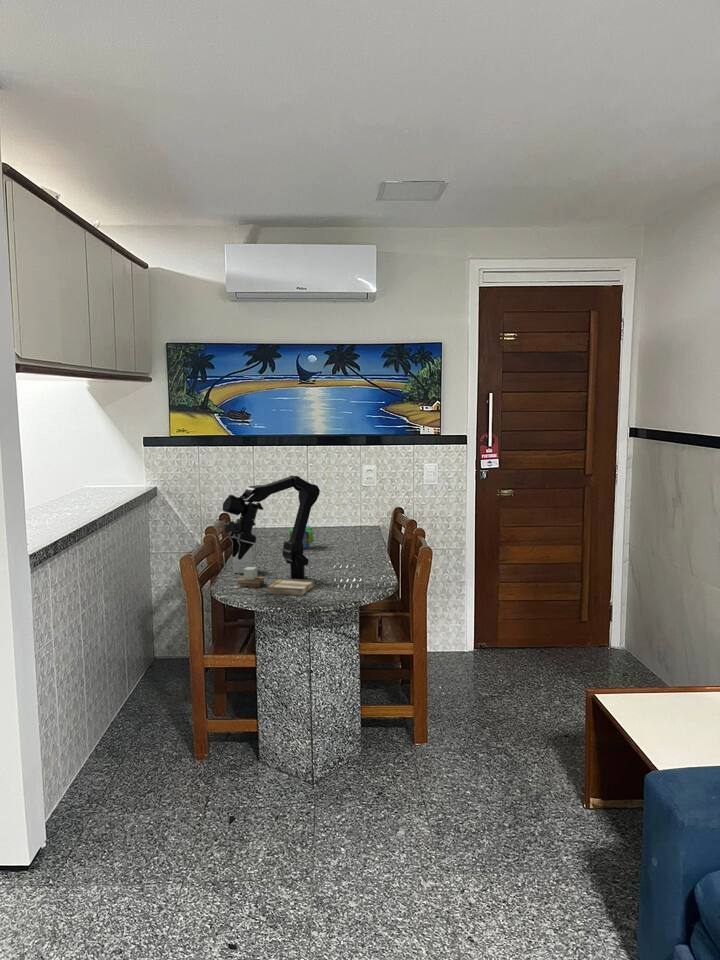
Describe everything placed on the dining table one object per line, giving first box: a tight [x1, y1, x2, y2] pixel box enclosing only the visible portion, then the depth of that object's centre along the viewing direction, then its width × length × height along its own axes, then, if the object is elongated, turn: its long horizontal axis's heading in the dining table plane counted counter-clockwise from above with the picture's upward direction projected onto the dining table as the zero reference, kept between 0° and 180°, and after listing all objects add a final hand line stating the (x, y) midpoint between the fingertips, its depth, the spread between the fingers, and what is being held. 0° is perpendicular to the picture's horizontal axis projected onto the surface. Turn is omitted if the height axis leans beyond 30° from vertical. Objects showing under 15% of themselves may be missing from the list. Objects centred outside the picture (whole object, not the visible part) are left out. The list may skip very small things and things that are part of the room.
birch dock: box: [266, 578, 315, 596], centre depth 273 cm, size 14×14×2 cm
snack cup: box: [288, 525, 315, 550], centre depth 348 cm, size 16×10×10 cm
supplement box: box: [232, 547, 253, 574], centre depth 303 cm, size 7×7×13 cm
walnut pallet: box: [236, 575, 266, 588], centre depth 281 cm, size 6×9×3 cm, turn 74°
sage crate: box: [243, 566, 259, 580], centre depth 281 cm, size 4×4×4 cm
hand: (236, 558), depth 271 cm, fingers open, 9 cm apart
